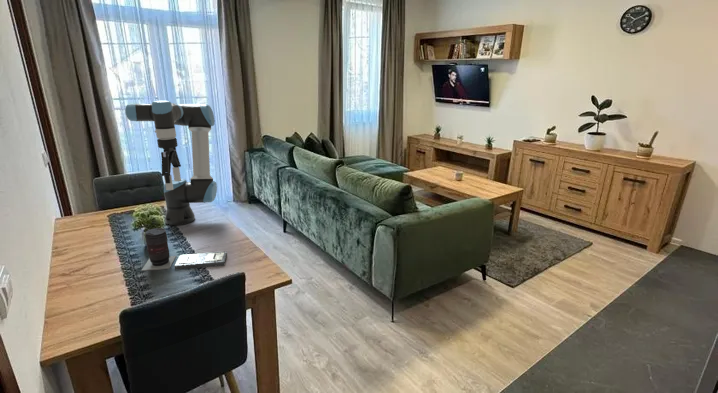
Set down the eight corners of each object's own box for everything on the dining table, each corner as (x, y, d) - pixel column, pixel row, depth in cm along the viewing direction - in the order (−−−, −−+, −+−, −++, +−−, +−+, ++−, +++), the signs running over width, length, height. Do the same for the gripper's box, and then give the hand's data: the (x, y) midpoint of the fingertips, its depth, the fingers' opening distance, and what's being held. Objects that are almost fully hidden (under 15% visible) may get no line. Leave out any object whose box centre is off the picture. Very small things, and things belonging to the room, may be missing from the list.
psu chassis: (180, 258, 167) (179, 254, 166) (227, 255, 171) (226, 250, 170) (174, 269, 158) (174, 264, 157) (224, 265, 162) (223, 260, 161)
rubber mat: (149, 258, 167) (149, 257, 167) (176, 256, 169) (176, 255, 169) (141, 271, 157) (141, 270, 157) (169, 268, 159) (169, 267, 159)
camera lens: (162, 268, 158) (157, 236, 154) (146, 266, 160) (139, 234, 155) (175, 259, 166) (170, 228, 161) (159, 257, 167) (153, 226, 163)
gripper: (165, 133, 170) (172, 178, 177) (147, 143, 147) (156, 194, 154) (182, 133, 172) (189, 177, 178) (168, 143, 148) (175, 193, 155)
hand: (173, 185), depth 166 cm, fingers open, 13 cm apart
